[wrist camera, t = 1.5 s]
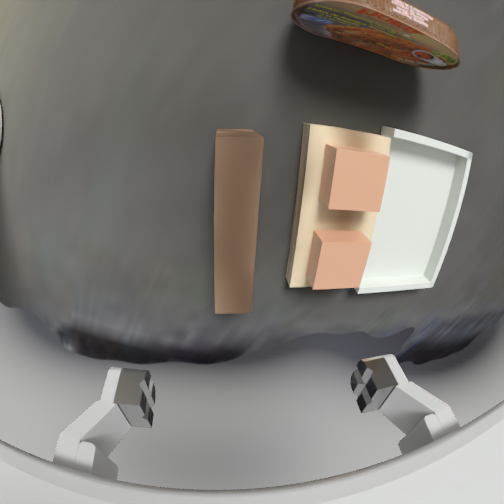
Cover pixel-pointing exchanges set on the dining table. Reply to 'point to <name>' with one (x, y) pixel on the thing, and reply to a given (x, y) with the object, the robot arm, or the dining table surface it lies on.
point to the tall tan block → (236, 217)
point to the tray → (415, 212)
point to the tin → (382, 29)
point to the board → (307, 197)
